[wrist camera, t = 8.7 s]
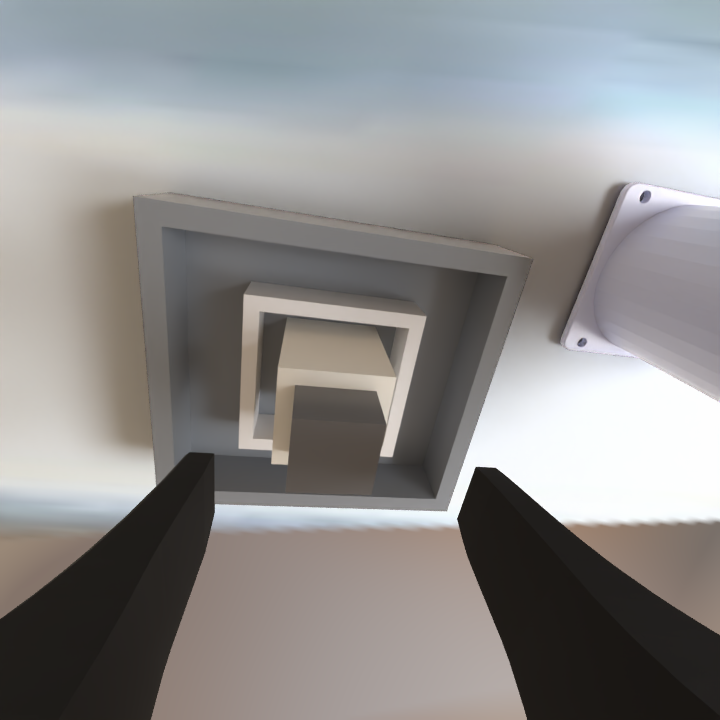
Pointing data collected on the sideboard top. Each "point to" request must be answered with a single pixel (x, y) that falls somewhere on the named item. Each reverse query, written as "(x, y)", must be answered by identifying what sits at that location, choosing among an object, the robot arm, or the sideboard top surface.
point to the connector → (331, 406)
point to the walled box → (323, 303)
